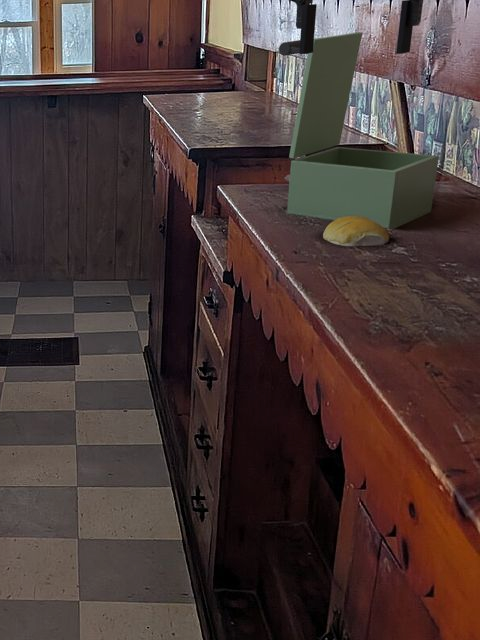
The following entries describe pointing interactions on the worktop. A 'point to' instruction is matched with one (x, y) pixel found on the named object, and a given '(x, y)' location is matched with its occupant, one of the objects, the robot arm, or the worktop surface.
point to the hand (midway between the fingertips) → (352, 53)
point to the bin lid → (323, 91)
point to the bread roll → (355, 232)
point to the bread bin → (363, 185)
